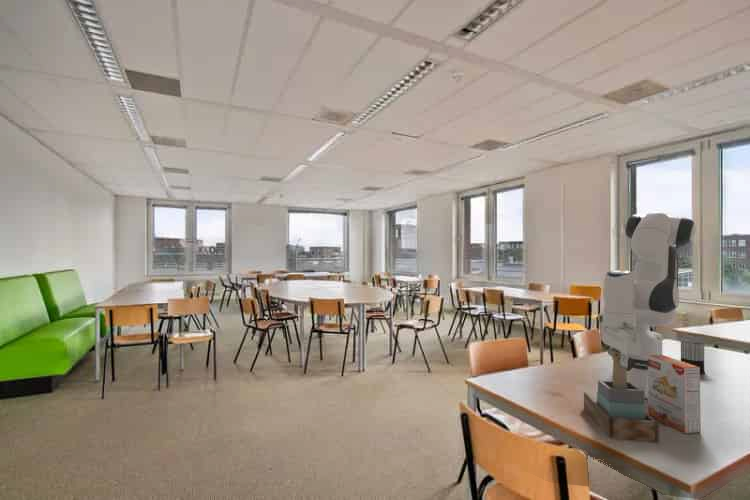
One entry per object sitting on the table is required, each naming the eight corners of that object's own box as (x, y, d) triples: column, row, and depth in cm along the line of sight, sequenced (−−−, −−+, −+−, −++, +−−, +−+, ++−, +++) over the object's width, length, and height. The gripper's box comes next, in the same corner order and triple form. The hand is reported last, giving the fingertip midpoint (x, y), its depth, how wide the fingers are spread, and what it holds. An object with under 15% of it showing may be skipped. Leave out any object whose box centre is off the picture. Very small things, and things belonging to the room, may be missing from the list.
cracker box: (646, 414, 129) (646, 354, 129) (663, 414, 129) (662, 354, 130) (683, 434, 115) (683, 366, 115) (701, 433, 115) (701, 366, 116)
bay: (624, 411, 131) (623, 394, 131) (658, 443, 110) (658, 422, 110) (584, 408, 134) (583, 392, 134) (610, 438, 112) (609, 418, 112)
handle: (628, 402, 116) (628, 354, 116) (605, 396, 121) (605, 350, 121) (634, 398, 119) (633, 351, 119) (611, 393, 124) (611, 348, 124)
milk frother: (710, 374, 172) (710, 342, 172) (675, 374, 172) (675, 342, 173) (686, 365, 186) (686, 335, 186) (654, 365, 187) (653, 335, 187)
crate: (630, 417, 124) (629, 381, 124) (645, 431, 114) (645, 392, 114) (597, 414, 126) (596, 379, 126) (609, 428, 116) (609, 389, 116)
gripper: (647, 327, 109) (647, 374, 109) (616, 315, 129) (616, 355, 129) (623, 326, 111) (623, 372, 110) (596, 315, 131) (596, 354, 131)
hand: (619, 363), depth 120 cm, fingers closed on handle, 4 cm apart
